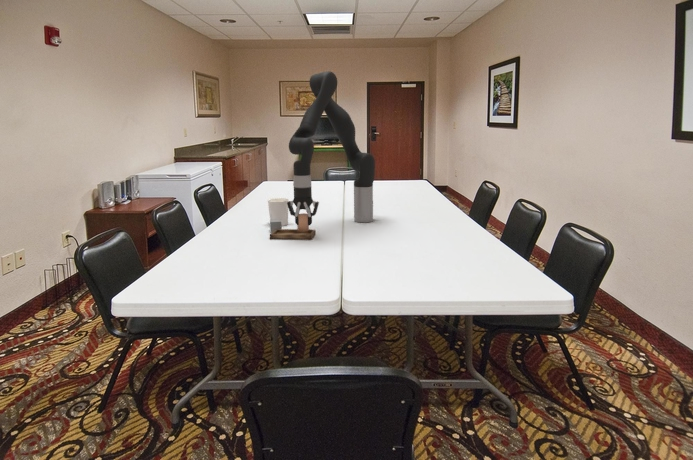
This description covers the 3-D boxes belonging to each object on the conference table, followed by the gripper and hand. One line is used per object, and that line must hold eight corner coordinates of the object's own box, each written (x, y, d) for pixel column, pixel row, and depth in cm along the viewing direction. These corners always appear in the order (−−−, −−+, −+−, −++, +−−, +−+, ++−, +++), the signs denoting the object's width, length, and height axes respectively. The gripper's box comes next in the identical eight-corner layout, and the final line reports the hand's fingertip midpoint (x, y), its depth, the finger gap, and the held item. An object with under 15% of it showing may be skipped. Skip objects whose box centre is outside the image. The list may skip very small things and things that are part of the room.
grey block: (281, 229, 219) (281, 219, 218) (281, 232, 214) (281, 221, 213) (270, 230, 219) (270, 219, 217) (270, 233, 214) (270, 222, 212)
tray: (315, 234, 210) (315, 229, 210) (311, 239, 201) (311, 235, 200) (276, 233, 212) (275, 229, 212) (269, 239, 203) (269, 234, 202)
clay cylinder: (309, 229, 207) (309, 213, 205) (307, 231, 203) (307, 215, 201) (299, 228, 207) (299, 213, 206) (297, 231, 203) (297, 215, 201)
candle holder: (285, 227, 224) (284, 202, 221) (266, 226, 226) (264, 201, 223) (292, 222, 233) (291, 198, 230) (273, 221, 235) (272, 197, 232)
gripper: (320, 184, 203) (321, 223, 208) (288, 184, 205) (289, 222, 209) (317, 187, 196) (318, 227, 200) (283, 186, 198) (285, 226, 202)
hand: (303, 224), depth 205 cm, fingers closed on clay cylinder, 4 cm apart
